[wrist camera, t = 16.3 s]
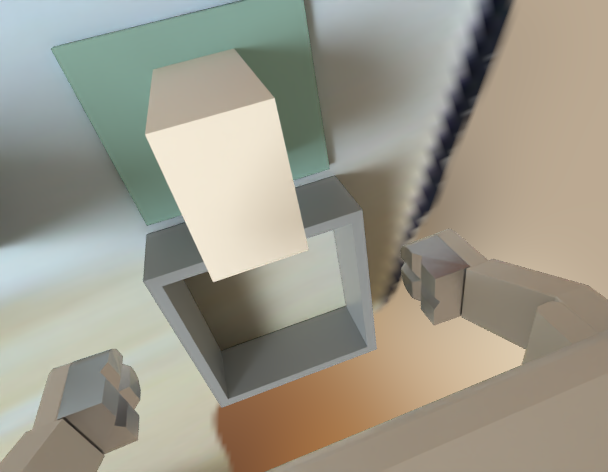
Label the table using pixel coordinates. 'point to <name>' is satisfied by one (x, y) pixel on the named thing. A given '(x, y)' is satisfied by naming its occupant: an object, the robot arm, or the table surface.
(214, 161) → the label box
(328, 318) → the parts bin
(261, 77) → the mat
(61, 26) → the table surface
